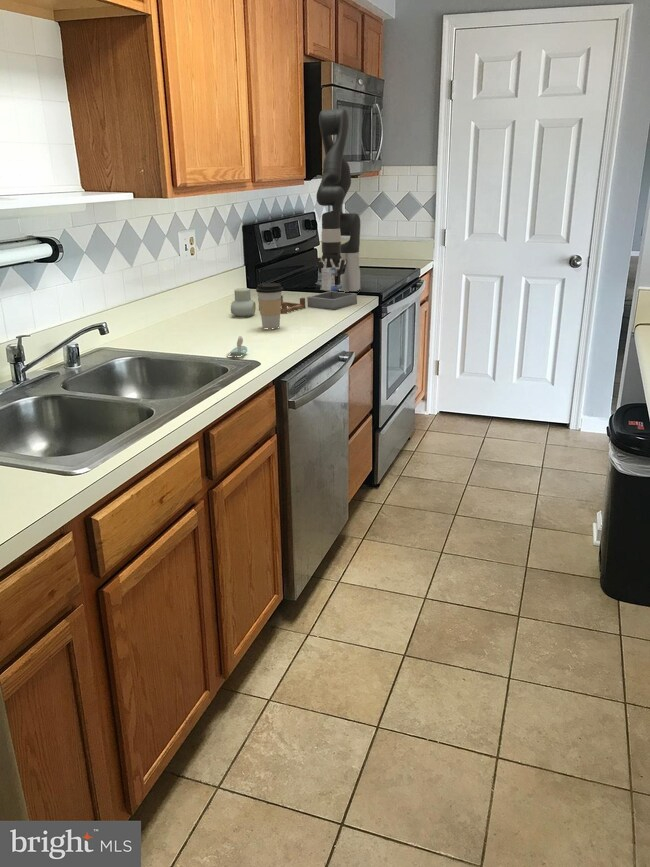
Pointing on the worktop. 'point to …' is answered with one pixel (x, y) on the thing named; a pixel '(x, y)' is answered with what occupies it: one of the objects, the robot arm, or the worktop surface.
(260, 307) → the coffee cup
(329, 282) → the medicine box
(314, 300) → the tray
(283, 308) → the holder
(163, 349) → the worktop surface
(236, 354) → the pacifier
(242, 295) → the air freshener
